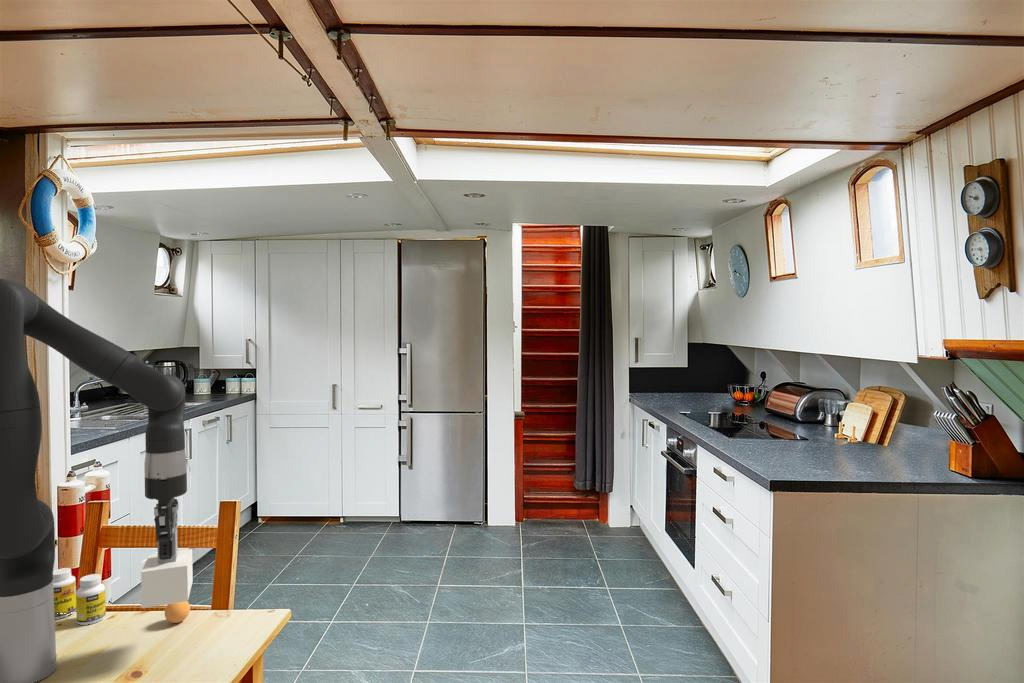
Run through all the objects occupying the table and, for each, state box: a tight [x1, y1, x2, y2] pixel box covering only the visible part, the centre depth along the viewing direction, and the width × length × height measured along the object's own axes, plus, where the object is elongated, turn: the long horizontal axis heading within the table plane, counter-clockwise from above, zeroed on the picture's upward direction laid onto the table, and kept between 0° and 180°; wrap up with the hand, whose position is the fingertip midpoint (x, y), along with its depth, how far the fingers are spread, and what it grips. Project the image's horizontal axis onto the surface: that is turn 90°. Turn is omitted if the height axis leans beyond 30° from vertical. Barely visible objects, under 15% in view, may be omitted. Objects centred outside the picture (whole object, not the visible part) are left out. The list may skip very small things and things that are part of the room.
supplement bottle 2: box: [75, 573, 107, 626], centre depth 135 cm, size 5×5×10 cm
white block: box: [140, 527, 194, 609], centre depth 123 cm, size 8×10×13 cm
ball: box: [164, 601, 191, 624], centre depth 134 cm, size 5×5×5 cm
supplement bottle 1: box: [53, 567, 77, 620], centre depth 138 cm, size 6×6×10 cm
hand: (167, 555), depth 123 cm, fingers closed on white block, 3 cm apart
